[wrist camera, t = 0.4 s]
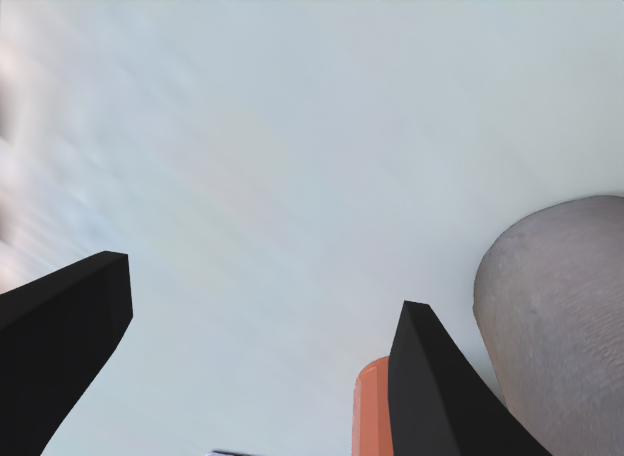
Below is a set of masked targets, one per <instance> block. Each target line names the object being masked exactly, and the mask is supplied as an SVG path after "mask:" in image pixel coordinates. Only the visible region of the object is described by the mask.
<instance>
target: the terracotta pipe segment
mask: <svg viewBox="0 0 624 456" xmlns="http://www.w3.org/2000/svg"><path fill="white" fill-rule="evenodd" d="M388 359H389V357H384V358H381V359H378V360H376V361H374V362H372V363H371V364H369V365H368V366H366V367H365V368H364V369H363V370H362V371H361V373H360V374H359V376H358V378H357V380H356V383H355V389H354V403H353V430H352V456H394V455H393V445H392V436H391V427H390V417H389V408H388Z"/></svg>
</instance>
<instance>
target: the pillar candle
mask: <svg viewBox="0 0 624 456" xmlns="http://www.w3.org/2000/svg"><path fill="white" fill-rule="evenodd" d="M473 313H474V316H475V319H476V321H477V325H478V327H479V330H480V332H481V335H482V337H483V340H484V343H485V346H486V348H487V351H488V353H489V356H490V359H491V362H492V365H493V368H494V371H495V374H496V376H497V379H498V382H499V385H500V388H501V390H502V393H503V396H504V399H505V401H506V405H507V407H508V410H509V412H510V413H511V414H512V415H513V416H514V417H515V418H516V419H517V420H518V421H519V422H520V423H521V424H522V425H523V427H524V428H525V429H526V430H527V431H528V432H529V433H530V434H531V435H532V436H533V437H534V438H535V439H536V440H537V441H538V442H539V443H540V444H541V445H542V446H543V447H544V448H545V449H546V450H547V451H549V452H550V453H551V454H552V455H553V456H624V198H622V197H617V196H595V197H589V198H584V199H580V200H574V201H570V202H565V203H562V204H559V205H556V206H552V207H550V208H547V209H544V210H541V211H538V212H536V213H533V214H531V215H529V216H527V217H525V218H523V219H521V220H520V221H518V222H517V223H516V224H514V225H512V226H511V227H510V228H509V229H507V230H506V231H505V232H503V233H502V235H500V237H499V238H497V240H496V241H495V243H494V244H493V245H492V247H491V248H490V249H489V250H488V251H487V252H486V254H485V255H484V257H483V259H482V261H481V263H480V266H479V268H478V271H477V274H476V278H475V283H474V305H473Z"/></svg>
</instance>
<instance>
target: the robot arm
mask: <svg viewBox="0 0 624 456" xmlns="http://www.w3.org/2000/svg"><path fill="white" fill-rule="evenodd" d="M132 318H133V309H132V297H131V286H130V274H129V262H128V254H123V253H117V252H111V251H103V252H100V253H97V254H94V255H92V256H89V257H87V258H85V259H82V260H80V261H78V262H75V263H73V264H71V265H69V266H66V267H64V268H62V269H60V270H57V271H55V272H53V273H51V274H48V275H46V276H44V277H41V278H39V279H37V280H35V281H32V282H30V283H28V284H25V285H23V286H21V287H18V288H16V289H13V290H11V291H8V292H6V293H3V294H1V295H0V456H40V455H41V454H42V452H43V450H44V449H45V447H46V445H47V444H48V442H49V440H50V439H51V437H52V436H53V435H54V433H55V432H56V430H57V429H58V427H59V426H60V424H61V423H62V422H63V420H64V419H65V417H66V416H67V415H68V413H69V412H70V411H71V409H72V408H73V407H74V405H75V404H76V403H77V401H78V400H79V399H80V397H81V396H82V395H83V393H84V392H85V391H86V389H87V388H88V387H89V385H90V384H91V382H92V381H93V380H94V378H95V377H96V376H97V374H98V373H99V372H100V370H101V369H102V368H103V366H104V365H105V363H106V362H107V361H108V359H109V358H110V356H111V355H112V354H113V352H114V351H115V349H116V348H117V346H118V344H119V342H120V341H121V339H122V337H123V335H124V333H125V331H126V330H127V328H128V326H129V324H130V322H131V320H132ZM388 408H389V417H390V427H391V436H392V445H393V455H394V456H553V455H552V454H551V453H550V452H549V451H547V450H546V449H545V448H544V447H543V446H542V445H541V444H540V443H539V442H538V441H537V440H536V439H535V438H534V437H533V436H532V435H531V434H530V433H529V432H528V431H527V430H526V429H525V428H524V427H523V425H522V424H521V423H520V422H519V421H518V420H517V419H516V418H515V417H514V416H513V415H512V414H511V413H510V412H509V411H508V410H507V409H506V407H505V406H504V405H503V404H502V403H501V402H500V401H499V400H498V398H497V397H496V396H495V395H494V394H493V392H492V391H491V390H490V389H489V388H488V386H487V385H486V384H485V383H484V381H483V380H482V379H481V378H480V377H479V375H478V374H477V373H476V371H475V370H474V369H473V368H472V366H471V365H470V363H469V362H468V361H467V359H466V358H465V357H464V355H463V354H462V353H461V351H460V350H459V348H458V347H457V346H456V344H455V343H454V341H453V340H452V338H451V337H450V335H449V334H448V332H447V331H446V329H445V328H444V326H443V325H442V323H441V322H440V320H439V319H438V317H437V316H436V314H435V313H434V312H433V310H432V309H431V307H430V306H429V304H423V303H417V302H411V301H405V300H404V304H403V308H402V311H401V315H400V319H399V322H398V326H397V330H396V334H395V337H394V341H393V345H392V348H391V352H390V356H389V359H388ZM205 456H233V455H226V454H220V453H213V452H209V453H207V454H206V455H205Z"/></svg>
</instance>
